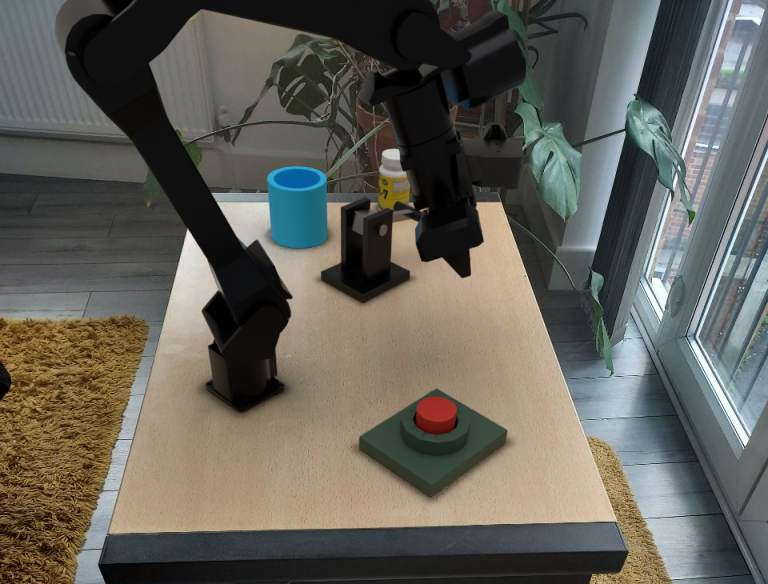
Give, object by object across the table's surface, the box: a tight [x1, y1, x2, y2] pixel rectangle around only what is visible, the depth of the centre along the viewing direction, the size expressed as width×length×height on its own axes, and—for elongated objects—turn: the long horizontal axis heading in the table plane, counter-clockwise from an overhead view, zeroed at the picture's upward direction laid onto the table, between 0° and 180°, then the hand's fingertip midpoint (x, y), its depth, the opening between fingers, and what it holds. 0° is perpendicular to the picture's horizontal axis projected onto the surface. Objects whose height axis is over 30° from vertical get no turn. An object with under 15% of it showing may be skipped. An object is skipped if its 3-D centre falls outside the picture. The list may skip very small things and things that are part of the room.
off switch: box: [358, 388, 509, 498], centre depth 81 cm, size 12×10×4 cm
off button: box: [416, 397, 457, 435], centre depth 79 cm, size 4×4×2 cm
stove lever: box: [352, 201, 423, 235], centre depth 103 cm, size 11×6×2 cm, turn 136°
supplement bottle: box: [377, 148, 411, 212], centre depth 118 cm, size 5×5×8 cm
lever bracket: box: [320, 196, 411, 303], centre depth 102 cm, size 9×8×10 cm
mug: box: [266, 165, 329, 249], centre depth 112 cm, size 12×8×8 cm
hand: (466, 275), depth 86 cm, fingers closed
